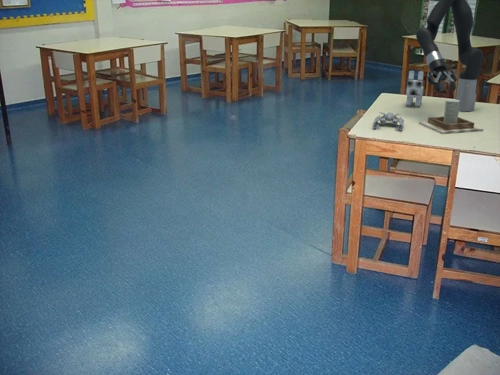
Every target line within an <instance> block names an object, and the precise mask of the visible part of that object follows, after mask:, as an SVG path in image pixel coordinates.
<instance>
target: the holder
mask: <svg viewBox="0 0 500 375" xmlns="http://www.w3.org/2000/svg"><path fill="white" fill-rule="evenodd" d="M443 121H444V116H433V117H432V116H431V117H428V119H427V120H426V121H424V120H423V121H418V125H421V126H423V127H424V128H427V129H429V130H432V131H434V132H437V133H439V134H442V135H447V134H460V133H474V132H483V131H484V128H482V127H479V126H477V125H475V122H473V121H470V120H468V119H464V118H462V117H459V116H458V120H457V123H454V124H446V123H444V122H443Z"/></svg>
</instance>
